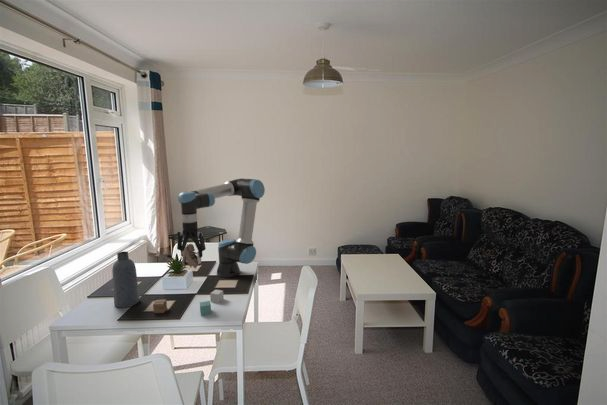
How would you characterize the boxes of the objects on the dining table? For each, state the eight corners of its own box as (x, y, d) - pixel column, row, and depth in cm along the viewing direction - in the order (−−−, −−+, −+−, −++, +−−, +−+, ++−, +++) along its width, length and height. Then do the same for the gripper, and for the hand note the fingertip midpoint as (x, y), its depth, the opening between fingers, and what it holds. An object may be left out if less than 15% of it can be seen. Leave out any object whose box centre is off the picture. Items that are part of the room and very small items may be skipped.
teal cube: (200, 311, 168) (199, 302, 167) (210, 309, 170) (209, 300, 169) (200, 316, 164) (200, 306, 163) (211, 314, 165) (210, 305, 164)
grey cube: (215, 297, 183) (215, 289, 183) (223, 299, 182) (223, 290, 181) (210, 301, 179) (210, 293, 178) (218, 303, 177) (218, 294, 176)
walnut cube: (157, 308, 171) (156, 299, 170) (166, 308, 171) (166, 299, 171) (153, 313, 166) (153, 304, 165) (163, 313, 166) (163, 303, 166)
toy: (206, 263, 179) (197, 240, 173) (196, 273, 172) (187, 249, 166) (193, 262, 183) (184, 239, 177) (183, 271, 176) (173, 248, 170)
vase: (113, 310, 169) (108, 258, 165) (114, 300, 180) (110, 251, 175) (139, 305, 175) (135, 254, 170) (139, 296, 185) (135, 248, 181)
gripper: (167, 222, 170) (170, 263, 174) (204, 223, 167) (207, 266, 170) (175, 219, 177) (178, 259, 181) (211, 220, 174) (213, 261, 178)
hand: (192, 262), depth 176 cm, fingers closed on toy, 8 cm apart
